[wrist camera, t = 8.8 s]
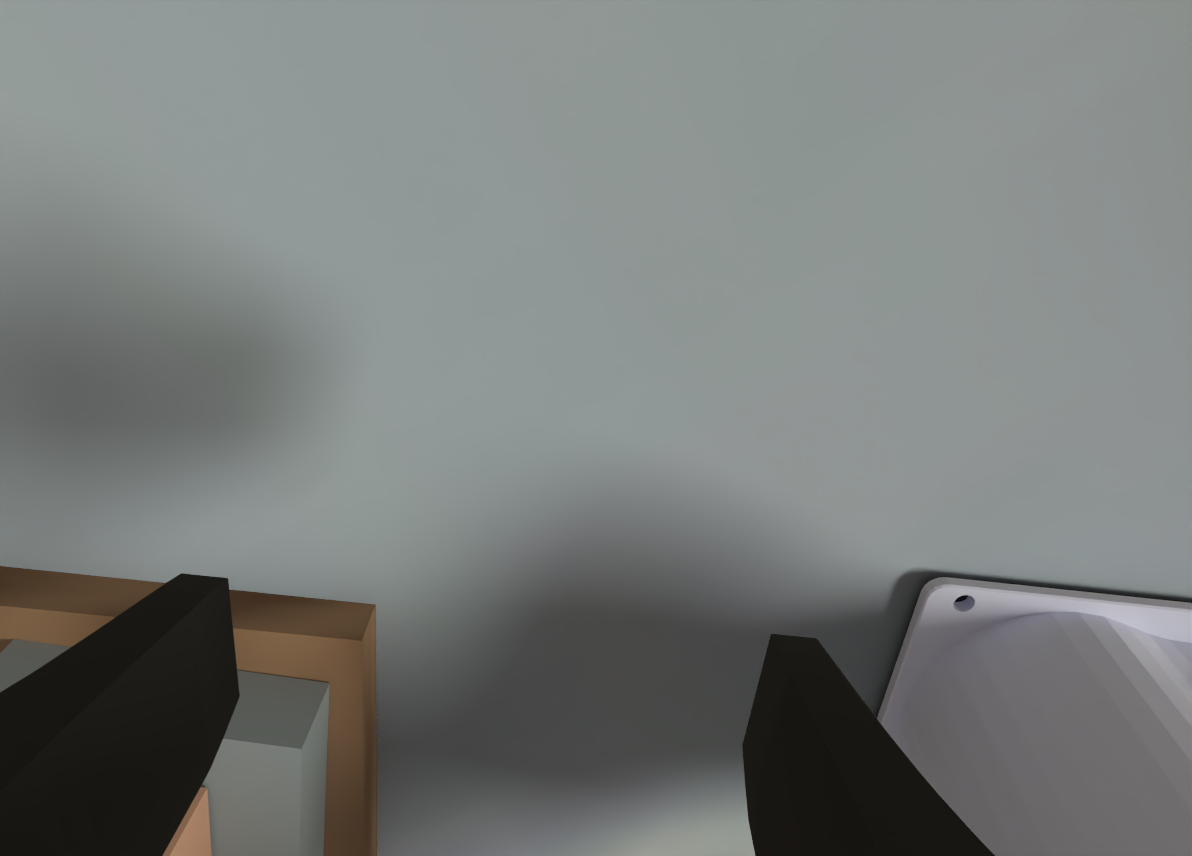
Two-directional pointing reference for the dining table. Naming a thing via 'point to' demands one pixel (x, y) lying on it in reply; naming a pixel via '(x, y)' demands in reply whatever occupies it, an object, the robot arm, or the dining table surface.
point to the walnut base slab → (245, 667)
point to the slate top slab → (249, 760)
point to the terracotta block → (193, 830)
